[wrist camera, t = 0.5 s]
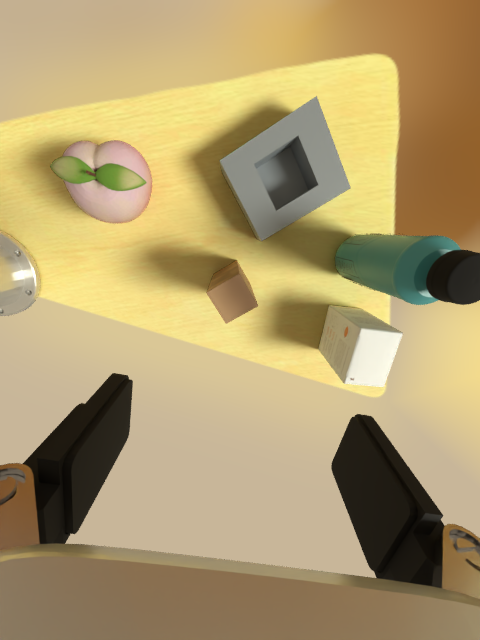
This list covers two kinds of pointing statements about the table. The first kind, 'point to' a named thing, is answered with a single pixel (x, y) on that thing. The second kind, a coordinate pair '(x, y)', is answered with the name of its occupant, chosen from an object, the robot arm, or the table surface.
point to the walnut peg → (231, 292)
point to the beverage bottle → (412, 267)
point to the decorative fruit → (106, 179)
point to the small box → (358, 346)
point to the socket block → (286, 171)
